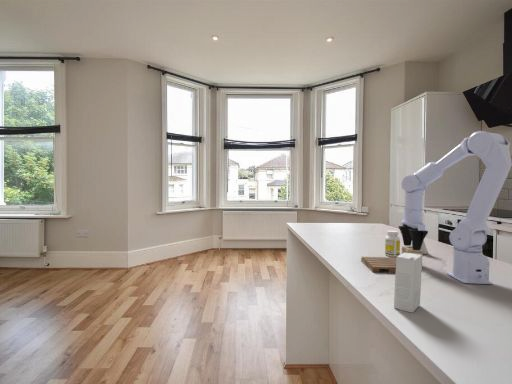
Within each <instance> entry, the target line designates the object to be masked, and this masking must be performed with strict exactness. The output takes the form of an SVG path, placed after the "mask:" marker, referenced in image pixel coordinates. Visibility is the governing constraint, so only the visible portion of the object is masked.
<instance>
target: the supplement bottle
mask: <svg viewBox="0 0 512 384" xmlns="http://www.w3.org/2000/svg"><path fill="white" fill-rule="evenodd" d="M386 233H387V235H386V236H385V237H384V241H385V242H384V255H385V256H387V257H389V258H397V257H398V256H399V255H401V253H400V252H401V250H400V249H401V238H400V236H399V231H398V230H387V232H386Z"/></svg>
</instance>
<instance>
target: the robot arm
mask: <svg viewBox="0 0 512 384" xmlns="http://www.w3.org/2000/svg"><path fill="white" fill-rule="evenodd" d="M510 147H511V143H510V141H508V139H507V138H506V137H505V136H504V135H502V134H501V133H492V132H488V131H486V130H478V131H474V132H473V133H472V134H471V135H470V136H468V137H465V138H464V139H463V140H462V141H461V142H460V144H458V145H457V146H456V147H454V148H453V149H452V150H450V151H449V152H448V153H447V154H445V155H444V156H443V157H441V158H440V159H439V160H438V161H431V162H430V161H429V162H425V163H424V166H423V167H421V168H420V169H419V170H417V171H414V172H413V173H412V175H411V174H409V175H405V177H403V178H402V181H401V188H402V189H403V190H404V208H403V209H404V210H403V219H401V221H399V223H400V224H401V225H398V229H399V231H400V234H401V236H402V242H403V246H411V243H412V247H413V250H420V249H421V246H422V243H423V240H424V239H425V238H426V236H427V235H428V233H429V231H428V230H426V224H424V223H423V205H424V204H423V202H424V201H423V199H424V198H423V197H424V192H425V191H426V189H427V187H428V186H429V185H430V184H432V183H434V182H435V181H436V180H438V179H439V178H441V177H442V176H443V175H444V171H445V170H446V169H448V168H450V167H452V166H453V165H455V164H457V163H458V162H460V161H462V160H463V159H465V158H467V157H470V156H477V157H478V158H480V160H481V162H482V163H483V164H484V166H485V170H484V172H483V175H482V177H481V179H480V180H479V184H478V186H477V187H476V191H475V193H474V195H473V198H472V200H471V202H470V204H469V207H468V210H467V211H466V213H465V216H464V217H463V218H462V219H461V220H460V221H459V222H458V223H457V225H456V226H455V228H454V229H453V230H451V232H450V233H449V237H448V238H449V239H448V240H449V242H450V244H451V245H452V246H453V247H452V248H453V255H452V256H453V257H452V272H451V271H447V272H446V275H448V276H450V277H452V278H454V279H456V281H457V280H458V281H459V282H461V283H463V284H483V285H493V282H492V281H490V260H489V258H488V257H487V256H486V255H484V254H483V246H484V245H485V244H486V243H487V239H488V236H487V231H488V229H489V227H488V224H487V221H488V219H489V217H490V214H491V212H492V211H493V208H494V206H495V203H496V202H497V199H498V198H499V194H500V193H501V191H502V189H503V186H504V185H505V184H504V183H505V182H506V180H507V178H508V175H509V173H510V171H511V168H512V157H511V151H510Z"/></svg>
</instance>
